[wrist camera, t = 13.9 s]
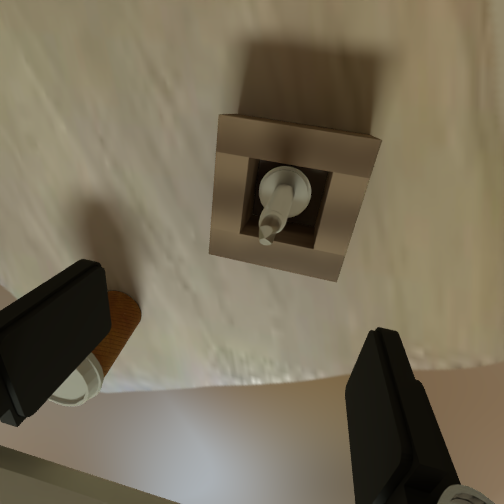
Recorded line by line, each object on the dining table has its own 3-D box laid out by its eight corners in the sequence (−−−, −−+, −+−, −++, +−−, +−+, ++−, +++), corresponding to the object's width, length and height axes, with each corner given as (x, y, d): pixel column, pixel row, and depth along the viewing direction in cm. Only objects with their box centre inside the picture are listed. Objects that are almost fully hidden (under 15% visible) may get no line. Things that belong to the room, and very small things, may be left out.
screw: (293, 151, 27) (321, 193, 28) (253, 181, 29) (281, 220, 30) (273, 181, 16) (322, 249, 17) (209, 227, 18) (257, 286, 19)
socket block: (237, 114, 27) (218, 114, 22) (370, 134, 25) (382, 140, 20) (225, 232, 32) (208, 253, 27) (334, 255, 31) (336, 282, 26)
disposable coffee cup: (161, 304, 39) (102, 376, 28) (140, 346, 43) (82, 421, 33) (99, 267, 38) (15, 327, 28) (84, 313, 43) (6, 379, 32)
